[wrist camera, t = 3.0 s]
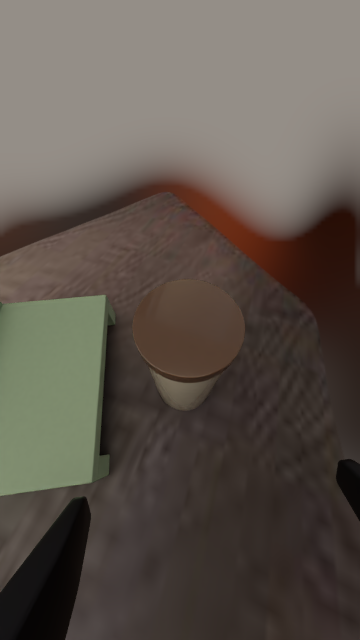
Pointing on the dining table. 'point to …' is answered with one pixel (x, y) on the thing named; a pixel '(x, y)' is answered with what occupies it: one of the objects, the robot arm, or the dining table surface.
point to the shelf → (52, 392)
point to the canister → (187, 338)
